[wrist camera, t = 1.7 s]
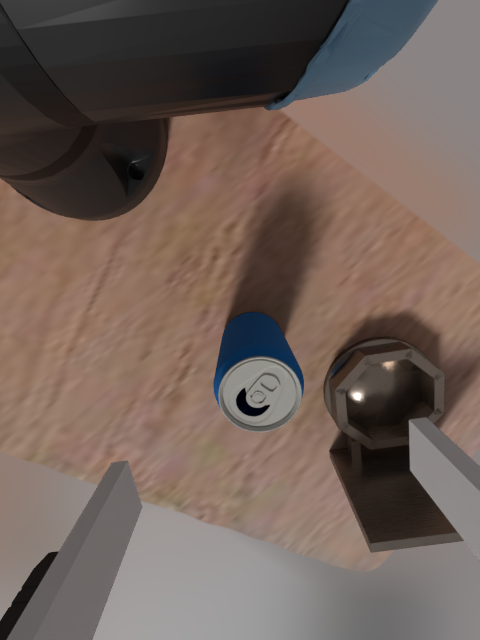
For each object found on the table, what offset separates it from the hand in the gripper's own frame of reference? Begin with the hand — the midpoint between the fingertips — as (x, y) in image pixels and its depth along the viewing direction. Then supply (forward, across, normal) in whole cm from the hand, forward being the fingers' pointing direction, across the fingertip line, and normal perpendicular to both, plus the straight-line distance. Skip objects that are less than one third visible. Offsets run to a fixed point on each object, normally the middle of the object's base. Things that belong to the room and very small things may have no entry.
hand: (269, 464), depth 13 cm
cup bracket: (+18, +13, -9) cm, 24 cm away
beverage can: (+18, 0, 0) cm, 18 cm away
